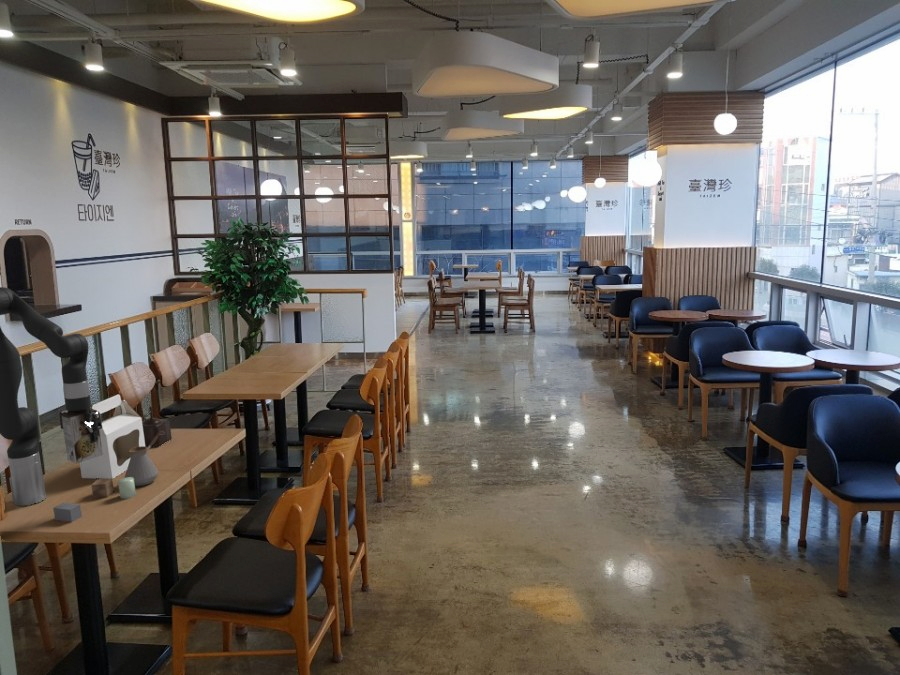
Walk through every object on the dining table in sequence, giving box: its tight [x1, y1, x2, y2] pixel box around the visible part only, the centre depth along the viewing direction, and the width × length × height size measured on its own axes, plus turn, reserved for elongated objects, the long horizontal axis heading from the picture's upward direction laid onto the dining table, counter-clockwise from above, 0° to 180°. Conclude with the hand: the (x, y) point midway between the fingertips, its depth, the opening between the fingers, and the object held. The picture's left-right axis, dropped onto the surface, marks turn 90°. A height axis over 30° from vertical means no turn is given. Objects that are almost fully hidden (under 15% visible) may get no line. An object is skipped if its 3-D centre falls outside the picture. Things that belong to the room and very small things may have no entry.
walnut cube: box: [90, 479, 115, 499], centre depth 244 cm, size 5×5×5 cm
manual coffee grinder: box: [133, 406, 173, 448], centre depth 295 cm, size 16×11×18 cm
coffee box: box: [61, 408, 103, 464], centre depth 229 cm, size 9×6×16 cm
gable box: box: [79, 394, 145, 480], centre depth 268 cm, size 22×13×28 cm, turn 170°
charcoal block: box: [52, 502, 83, 523], centre depth 226 cm, size 7×4×4 cm, turn 73°
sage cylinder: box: [117, 477, 137, 500], centre depth 242 cm, size 5×5×6 cm
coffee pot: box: [124, 431, 165, 487], centre depth 258 cm, size 21×12×15 cm, turn 170°
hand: (83, 441), depth 230 cm, fingers closed on coffee box, 8 cm apart
